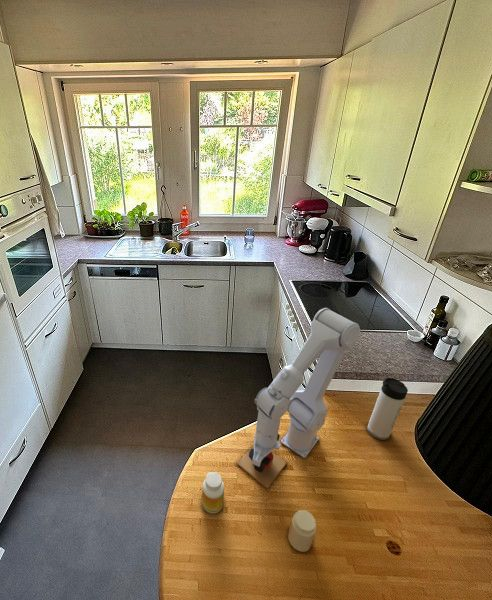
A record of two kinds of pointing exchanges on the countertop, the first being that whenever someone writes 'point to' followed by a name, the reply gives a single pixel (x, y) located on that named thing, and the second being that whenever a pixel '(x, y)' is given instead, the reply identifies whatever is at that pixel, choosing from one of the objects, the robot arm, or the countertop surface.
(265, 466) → the lid
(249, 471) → the trivet
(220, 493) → the supplement bottle
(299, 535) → the jar
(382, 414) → the travel mug
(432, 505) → the countertop surface
